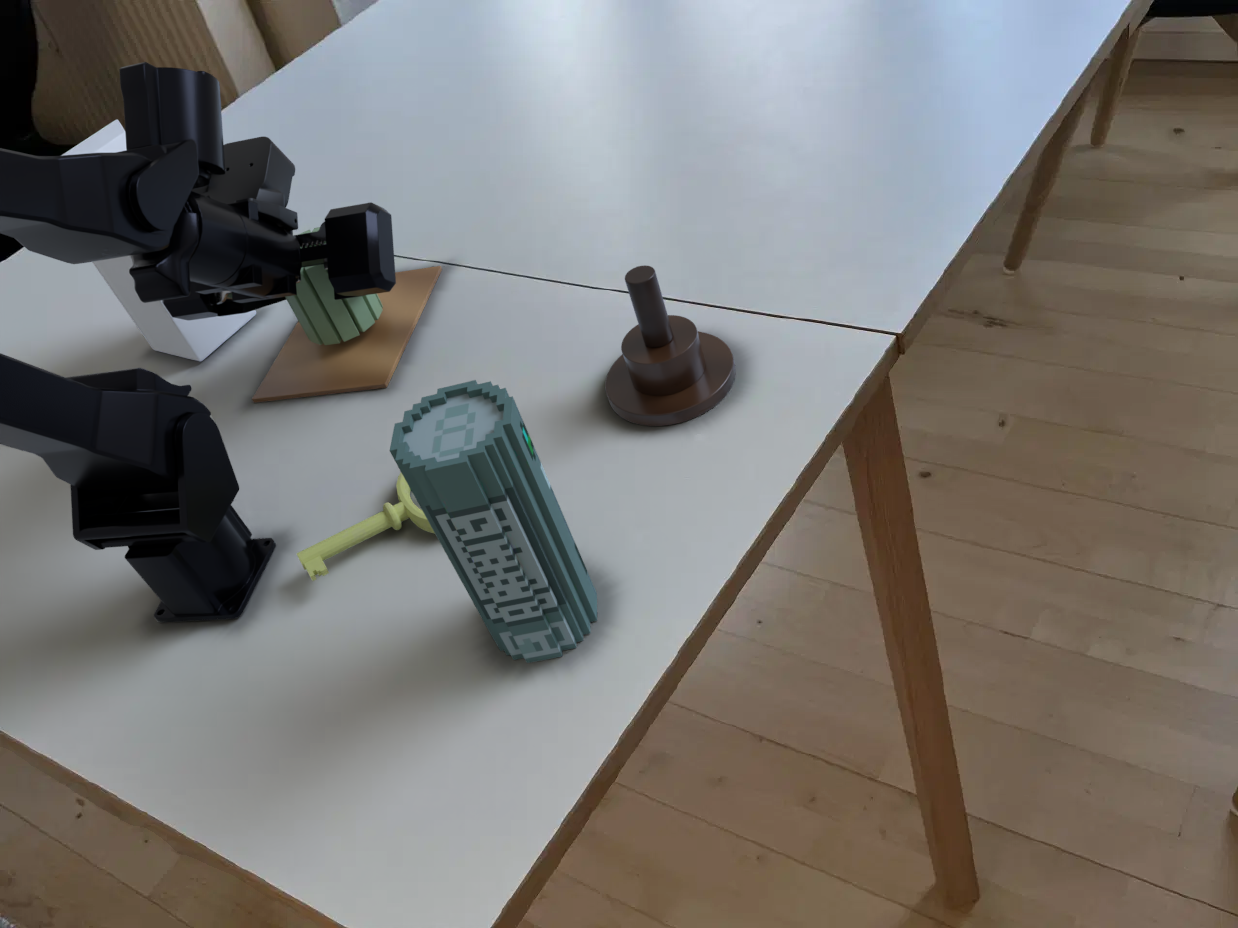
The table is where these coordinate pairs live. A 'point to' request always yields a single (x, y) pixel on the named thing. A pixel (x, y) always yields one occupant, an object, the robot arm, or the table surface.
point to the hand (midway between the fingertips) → (336, 283)
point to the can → (497, 518)
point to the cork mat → (352, 348)
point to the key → (364, 530)
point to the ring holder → (665, 362)
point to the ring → (330, 308)
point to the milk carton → (153, 316)
